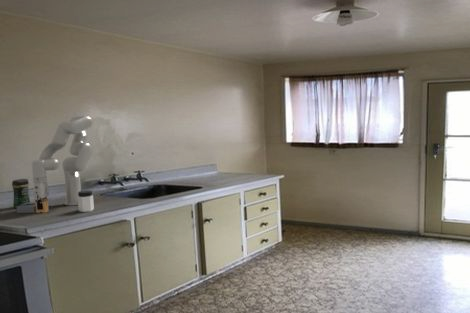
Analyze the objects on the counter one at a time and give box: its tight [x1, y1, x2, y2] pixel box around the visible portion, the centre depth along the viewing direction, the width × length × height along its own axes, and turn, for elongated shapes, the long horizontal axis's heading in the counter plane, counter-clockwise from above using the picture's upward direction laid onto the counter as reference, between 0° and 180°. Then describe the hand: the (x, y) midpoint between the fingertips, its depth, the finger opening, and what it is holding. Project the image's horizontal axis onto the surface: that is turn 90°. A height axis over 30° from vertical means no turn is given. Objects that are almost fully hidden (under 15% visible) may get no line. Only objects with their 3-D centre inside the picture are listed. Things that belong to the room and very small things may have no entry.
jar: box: [77, 189, 95, 213], centre depth 245 cm, size 9×8×12 cm
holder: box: [15, 201, 36, 214], centre depth 249 cm, size 11×11×4 cm
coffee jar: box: [11, 178, 31, 209], centre depth 259 cm, size 10×8×19 cm
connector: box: [34, 197, 49, 214], centre depth 245 cm, size 6×4×8 cm
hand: (42, 208), depth 245 cm, fingers closed on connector, 4 cm apart
